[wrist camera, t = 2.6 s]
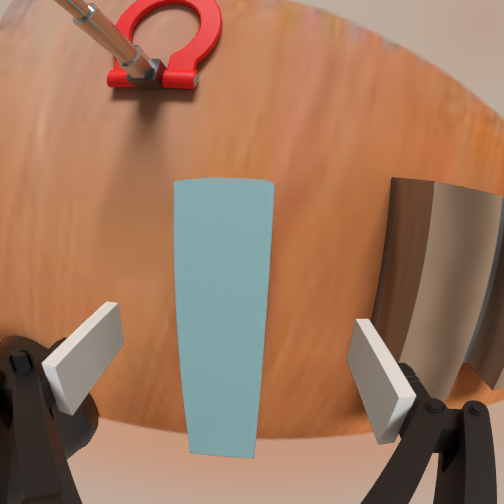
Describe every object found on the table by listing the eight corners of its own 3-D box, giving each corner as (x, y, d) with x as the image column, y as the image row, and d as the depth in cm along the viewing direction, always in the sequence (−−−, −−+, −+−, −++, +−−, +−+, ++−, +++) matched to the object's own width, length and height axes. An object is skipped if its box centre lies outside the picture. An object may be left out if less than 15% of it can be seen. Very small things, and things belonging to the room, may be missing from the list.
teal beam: (255, 376, 25) (254, 458, 16) (208, 373, 25) (190, 452, 16) (267, 179, 21) (274, 184, 12) (208, 177, 21) (174, 181, 12)
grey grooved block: (359, 368, 24) (380, 413, 18) (392, 177, 20) (434, 181, 14) (498, 351, 24) (527, 379, 18) (534, 207, 20) (575, 218, 14)
